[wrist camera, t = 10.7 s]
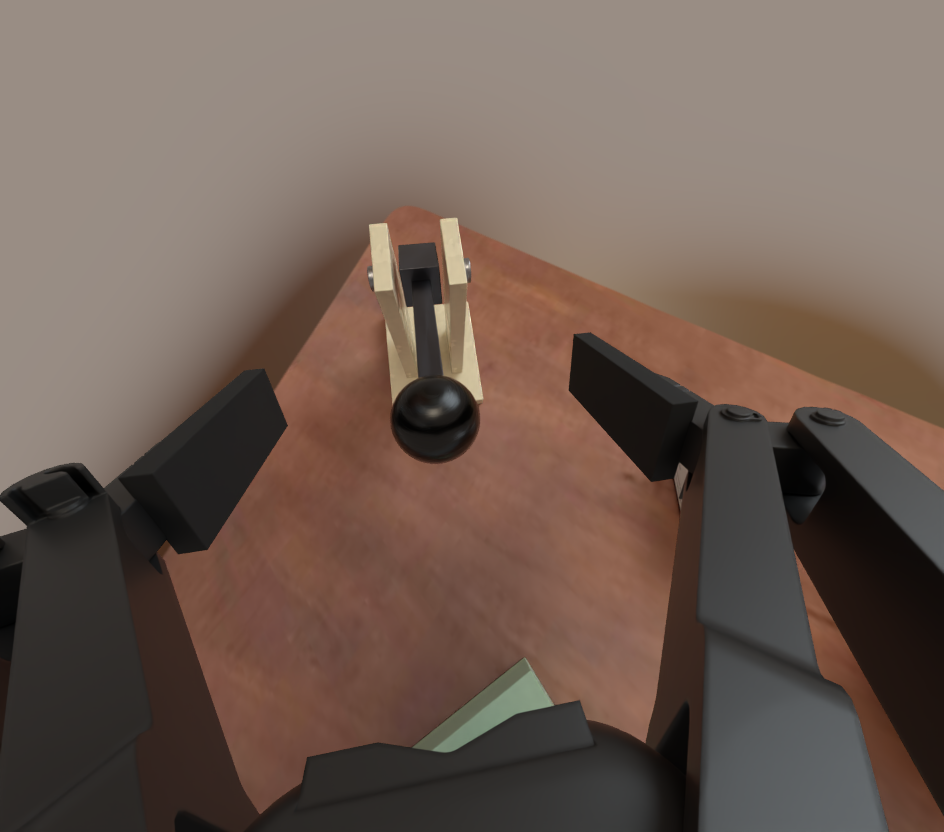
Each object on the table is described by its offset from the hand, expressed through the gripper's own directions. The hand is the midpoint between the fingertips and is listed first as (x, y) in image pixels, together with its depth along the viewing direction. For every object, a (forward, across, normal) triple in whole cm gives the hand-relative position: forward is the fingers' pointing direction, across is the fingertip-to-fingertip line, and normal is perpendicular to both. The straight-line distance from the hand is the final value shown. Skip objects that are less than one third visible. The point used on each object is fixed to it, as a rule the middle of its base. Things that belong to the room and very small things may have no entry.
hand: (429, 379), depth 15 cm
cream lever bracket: (+17, 0, -5) cm, 18 cm away
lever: (+4, 0, -1) cm, 4 cm away
